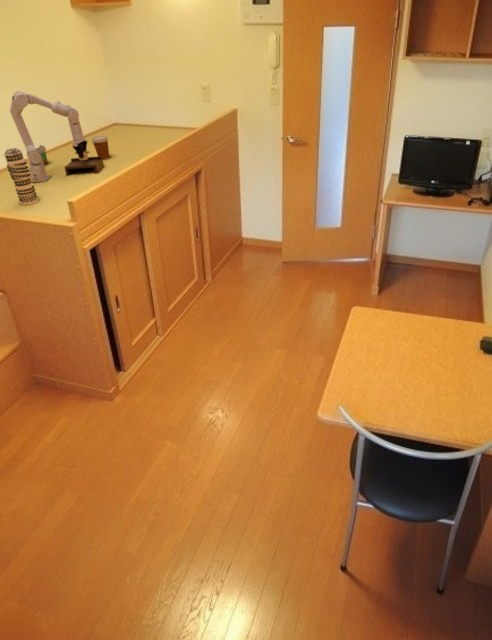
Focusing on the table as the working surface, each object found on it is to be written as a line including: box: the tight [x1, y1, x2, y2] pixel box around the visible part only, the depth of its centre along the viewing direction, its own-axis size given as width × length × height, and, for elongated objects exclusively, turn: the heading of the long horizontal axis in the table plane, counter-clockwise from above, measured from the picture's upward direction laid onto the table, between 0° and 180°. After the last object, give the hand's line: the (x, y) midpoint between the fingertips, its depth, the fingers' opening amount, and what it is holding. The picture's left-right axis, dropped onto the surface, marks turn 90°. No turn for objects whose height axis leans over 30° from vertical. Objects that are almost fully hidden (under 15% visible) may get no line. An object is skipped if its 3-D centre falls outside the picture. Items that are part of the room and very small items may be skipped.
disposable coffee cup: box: [91, 135, 110, 160], centre depth 293 cm, size 10×10×12 cm
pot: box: [74, 150, 90, 160], centre depth 273 cm, size 5×8×5 cm
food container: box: [35, 144, 49, 167], centre depth 292 cm, size 12×6×10 cm, turn 168°
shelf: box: [64, 156, 105, 176], centre depth 275 cm, size 13×18×6 cm
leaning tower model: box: [3, 147, 39, 206], centre depth 232 cm, size 9×9×25 cm
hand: (83, 156), depth 274 cm, fingers closed on pot, 5 cm apart
